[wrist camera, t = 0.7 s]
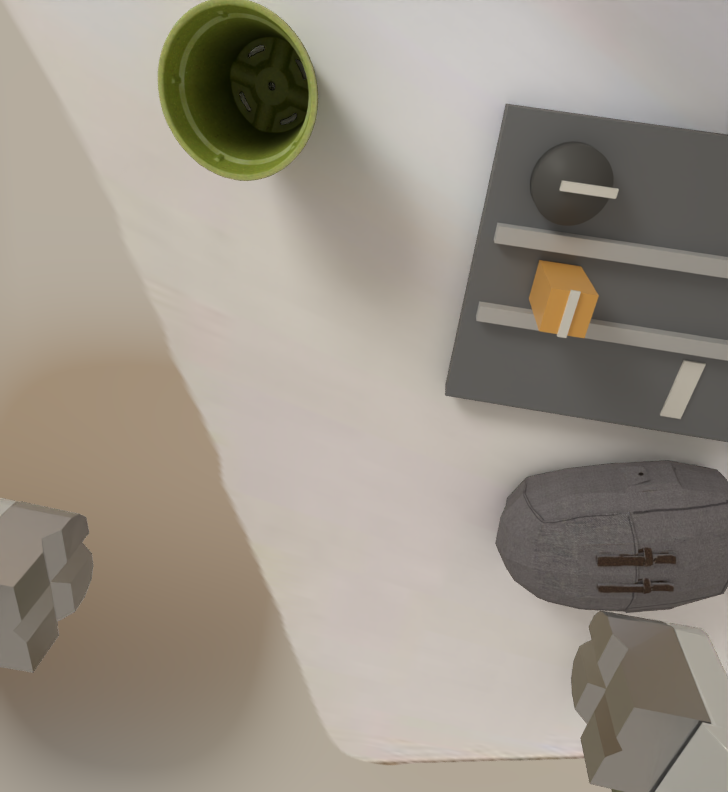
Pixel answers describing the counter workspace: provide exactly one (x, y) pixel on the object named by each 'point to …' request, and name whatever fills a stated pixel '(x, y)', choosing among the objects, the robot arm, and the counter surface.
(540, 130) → the console board
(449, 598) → the counter surface
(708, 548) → the small grey backpack
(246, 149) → the plant pot
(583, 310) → the fader knob
